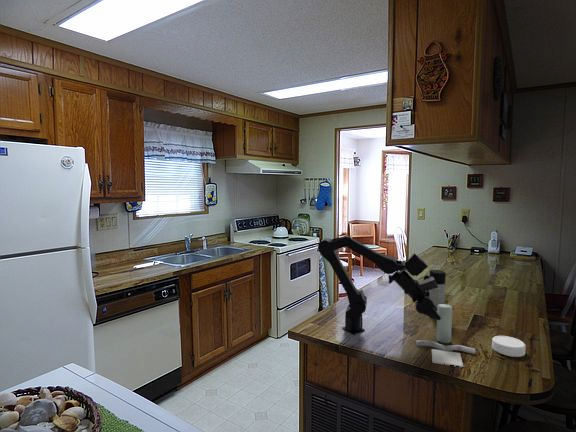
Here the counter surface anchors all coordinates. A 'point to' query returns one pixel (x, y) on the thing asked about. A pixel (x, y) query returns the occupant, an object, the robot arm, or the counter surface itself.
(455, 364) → the tile
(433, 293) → the spray can
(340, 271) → the robot arm
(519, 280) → the counter surface
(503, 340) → the white thick disc
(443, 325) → the sage peg
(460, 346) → the bent wire
